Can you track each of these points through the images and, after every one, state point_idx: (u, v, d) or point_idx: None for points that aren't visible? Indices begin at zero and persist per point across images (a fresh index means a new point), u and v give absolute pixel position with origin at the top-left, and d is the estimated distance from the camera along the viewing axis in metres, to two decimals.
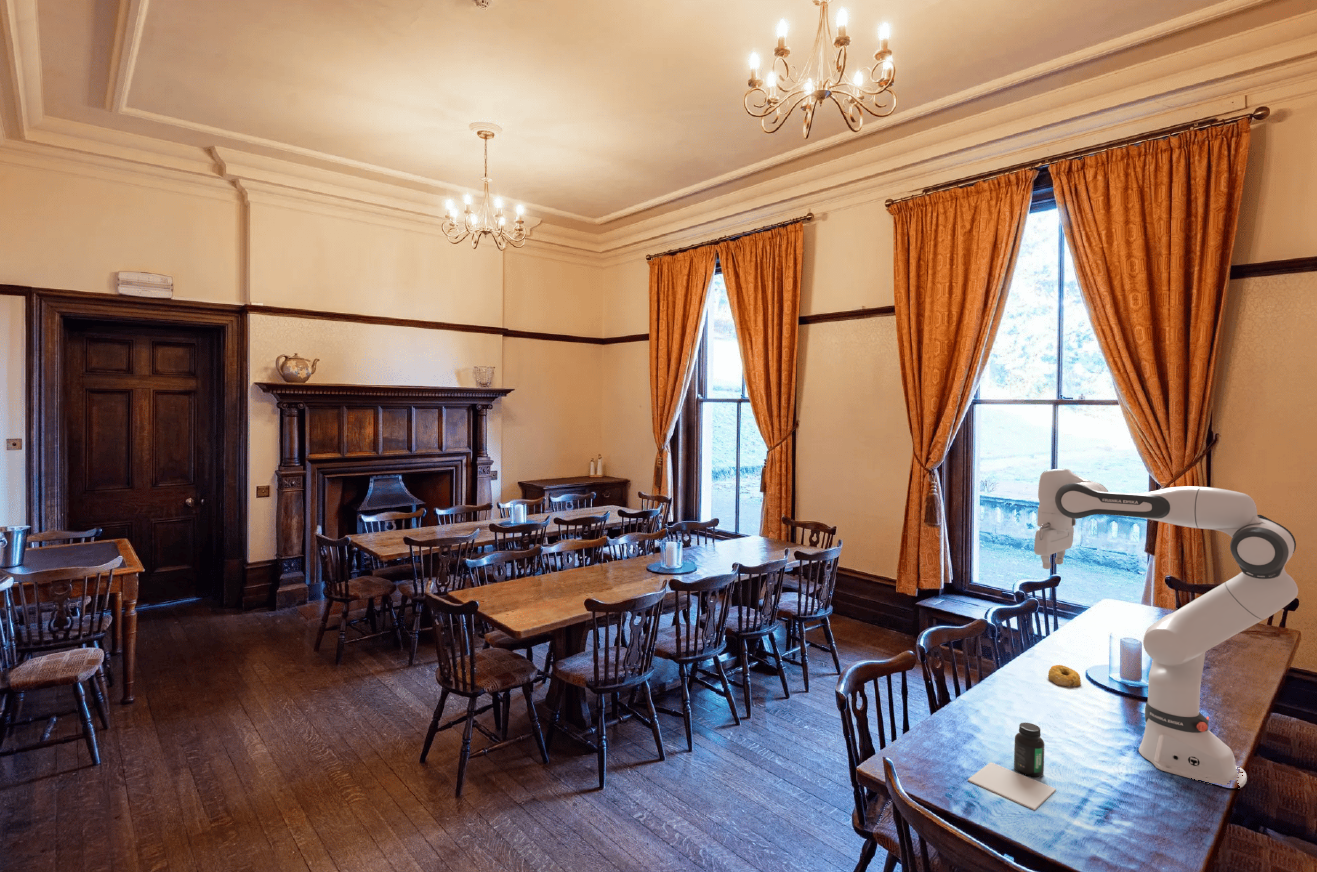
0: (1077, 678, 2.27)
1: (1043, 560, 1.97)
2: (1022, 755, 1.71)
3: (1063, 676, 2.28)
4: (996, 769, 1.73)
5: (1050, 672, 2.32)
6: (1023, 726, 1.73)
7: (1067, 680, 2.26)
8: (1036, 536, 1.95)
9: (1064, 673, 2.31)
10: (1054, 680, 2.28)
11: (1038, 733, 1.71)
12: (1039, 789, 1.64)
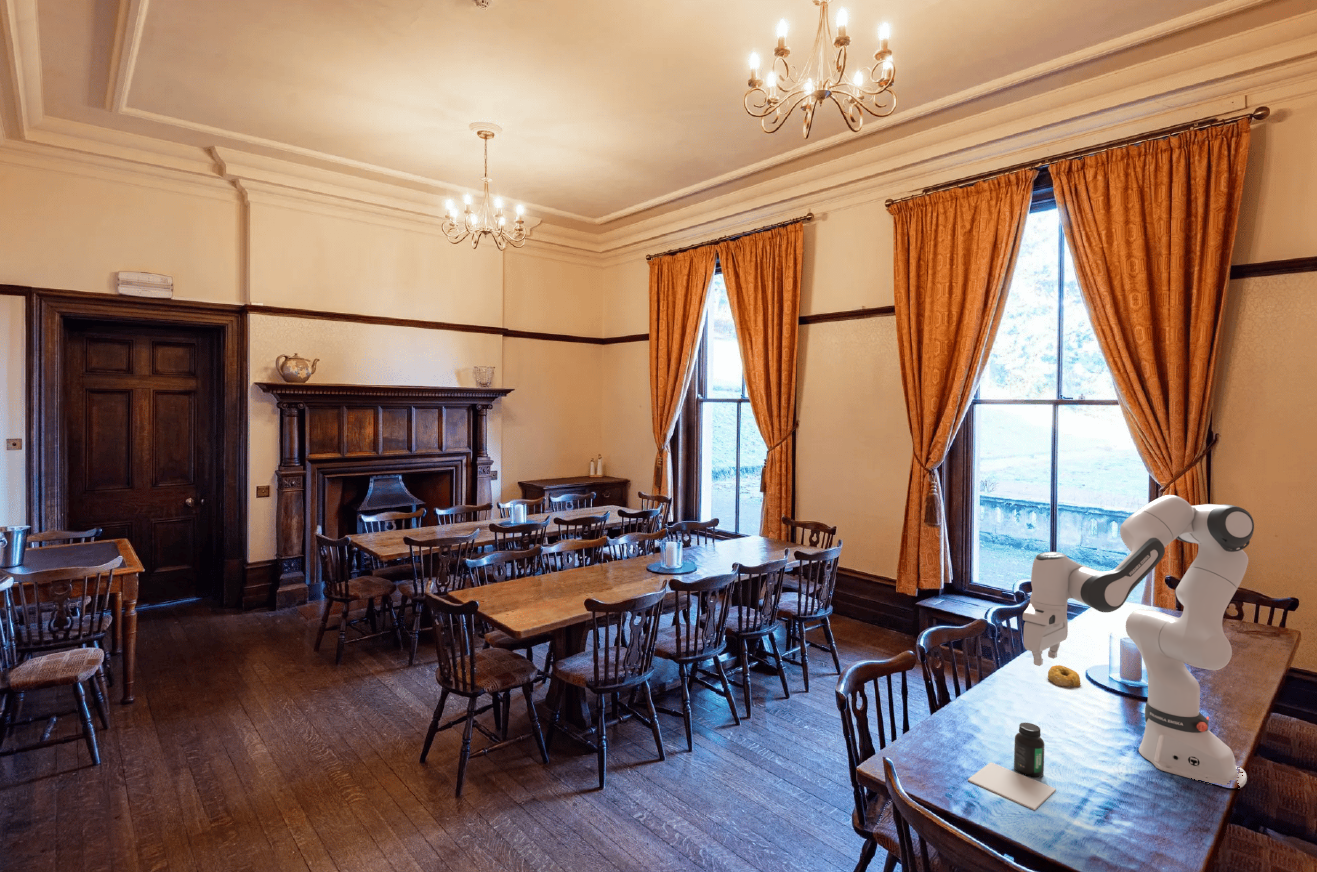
0: (1077, 678, 2.27)
1: None
2: (1022, 755, 1.71)
3: (1062, 676, 2.27)
4: (996, 769, 1.73)
5: (1050, 672, 2.31)
6: (1023, 726, 1.73)
7: (1067, 680, 2.25)
8: None
9: (1064, 673, 2.31)
10: (1054, 680, 2.28)
11: (1038, 733, 1.71)
12: (1039, 789, 1.64)
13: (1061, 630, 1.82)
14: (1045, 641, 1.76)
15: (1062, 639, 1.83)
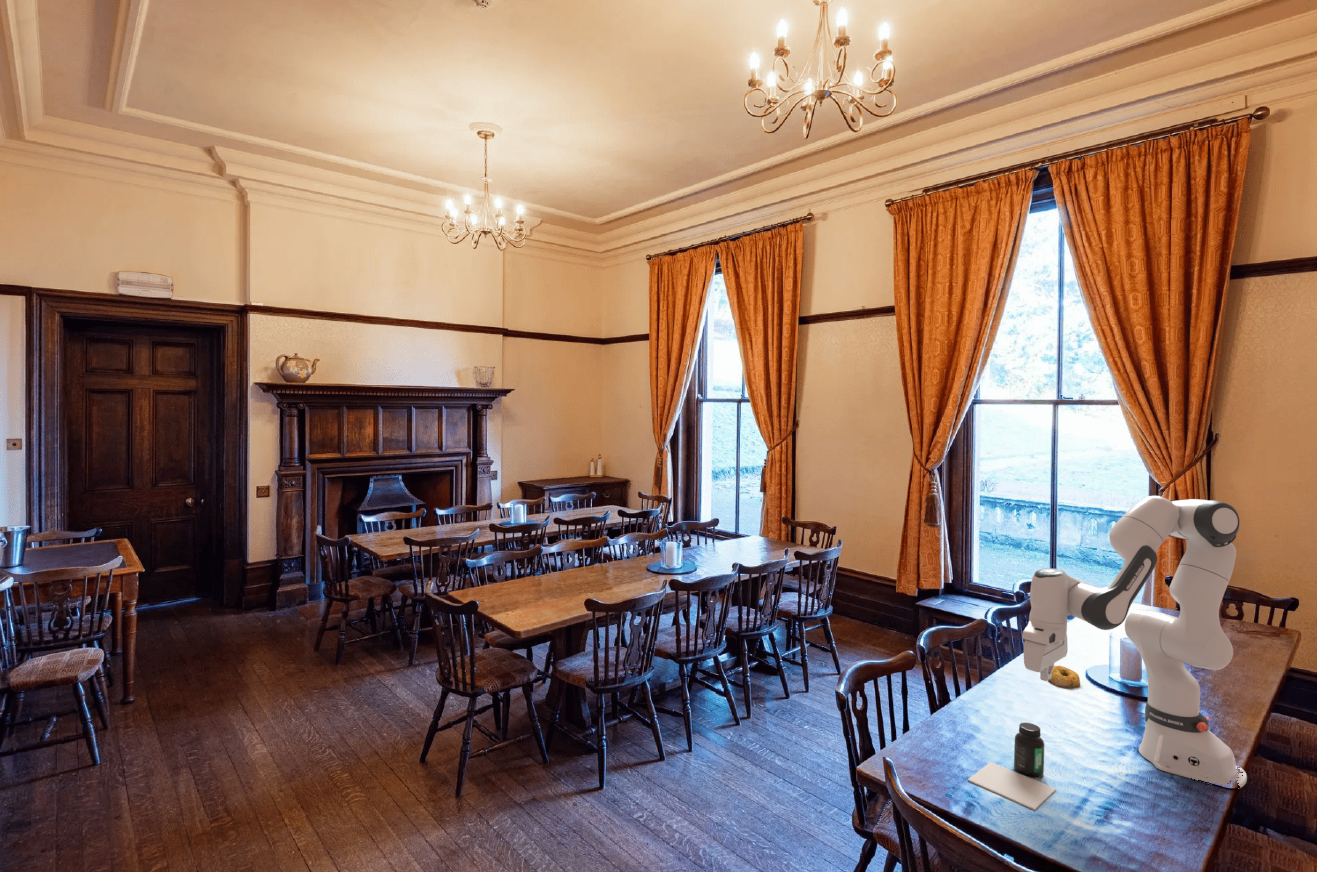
0: (1076, 679, 2.26)
1: None
2: (1022, 755, 1.71)
3: (1062, 676, 2.27)
4: (996, 769, 1.73)
5: None
6: (1023, 726, 1.73)
7: (1067, 681, 2.25)
8: None
9: (1063, 674, 2.31)
10: (1053, 681, 2.28)
11: (1038, 733, 1.71)
12: (1039, 789, 1.64)
13: (1061, 647, 1.80)
14: (1046, 660, 1.74)
15: (1062, 656, 1.81)
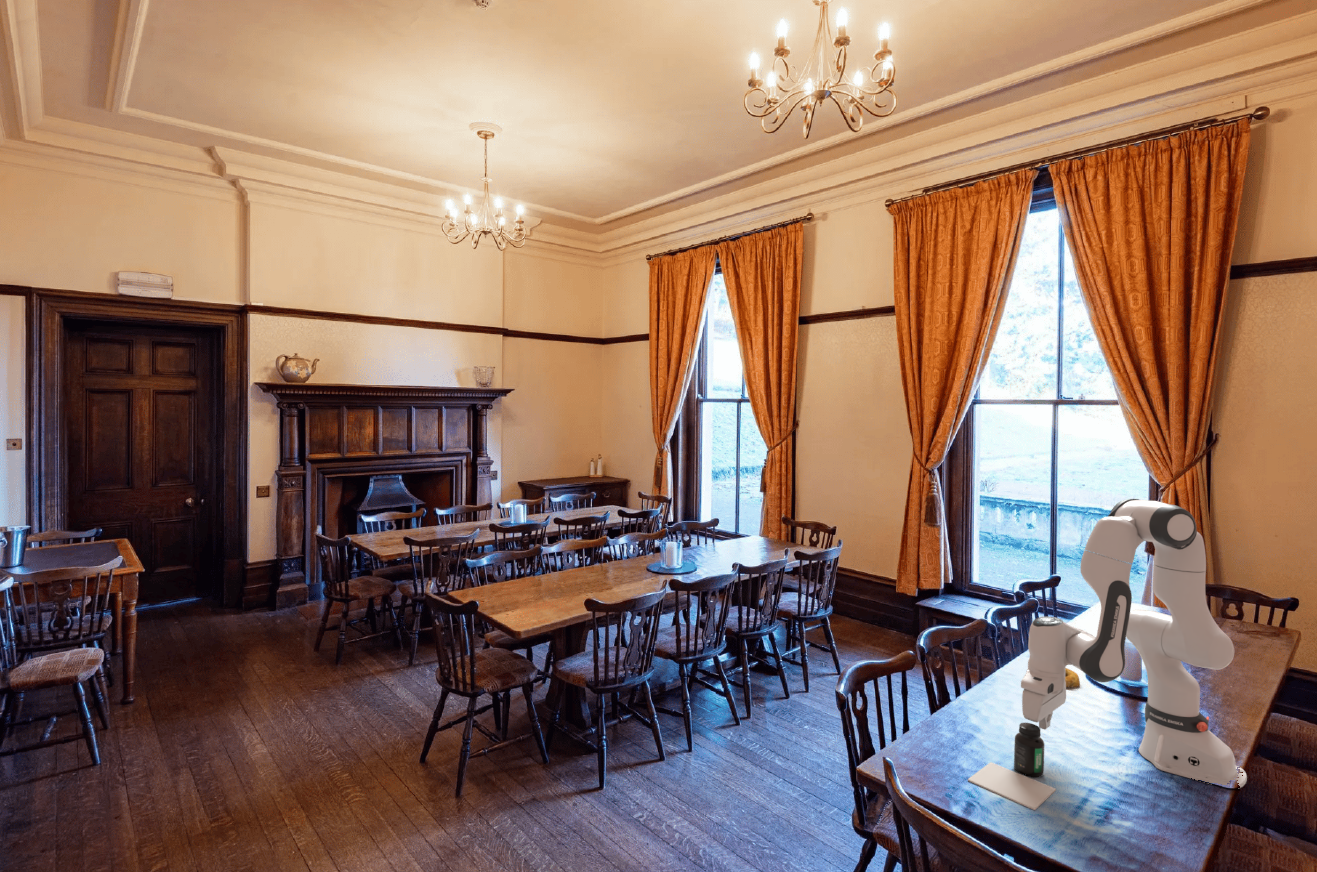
0: (1076, 679, 2.26)
1: None
2: (1022, 755, 1.71)
3: None
4: (996, 769, 1.73)
5: None
6: (1023, 726, 1.73)
7: (1067, 681, 2.25)
8: None
9: None
10: None
11: (1038, 733, 1.71)
12: (1039, 789, 1.64)
13: (1059, 695, 1.81)
14: (1044, 709, 1.74)
15: (1061, 703, 1.81)
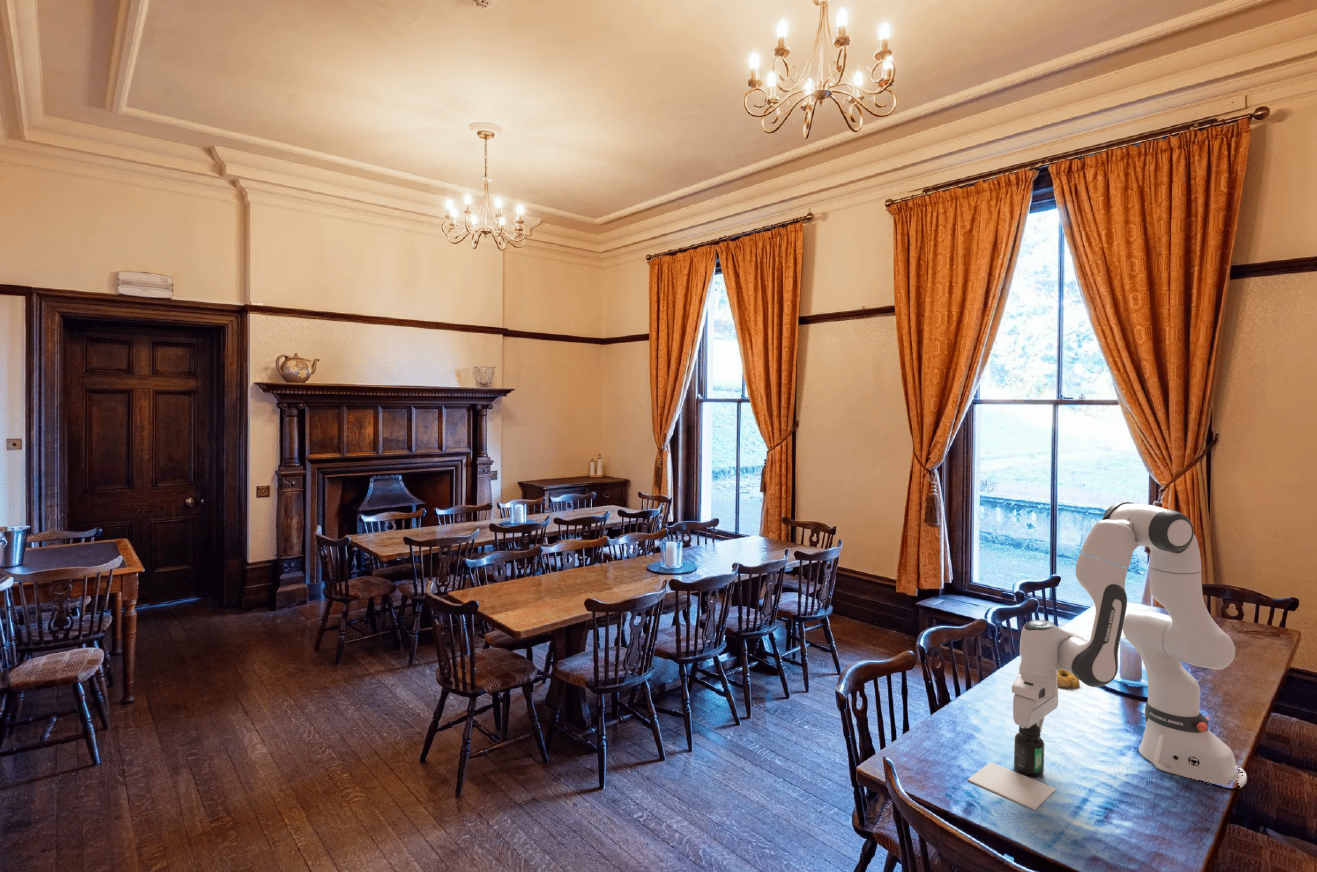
0: (1076, 679, 2.26)
1: None
2: (1022, 755, 1.71)
3: (1062, 677, 2.26)
4: (996, 769, 1.73)
5: None
6: None
7: (1066, 681, 2.24)
8: None
9: (1063, 674, 2.30)
10: None
11: (1038, 733, 1.71)
12: (1039, 789, 1.64)
13: (1051, 700, 1.77)
14: (1035, 715, 1.71)
15: (1053, 709, 1.78)
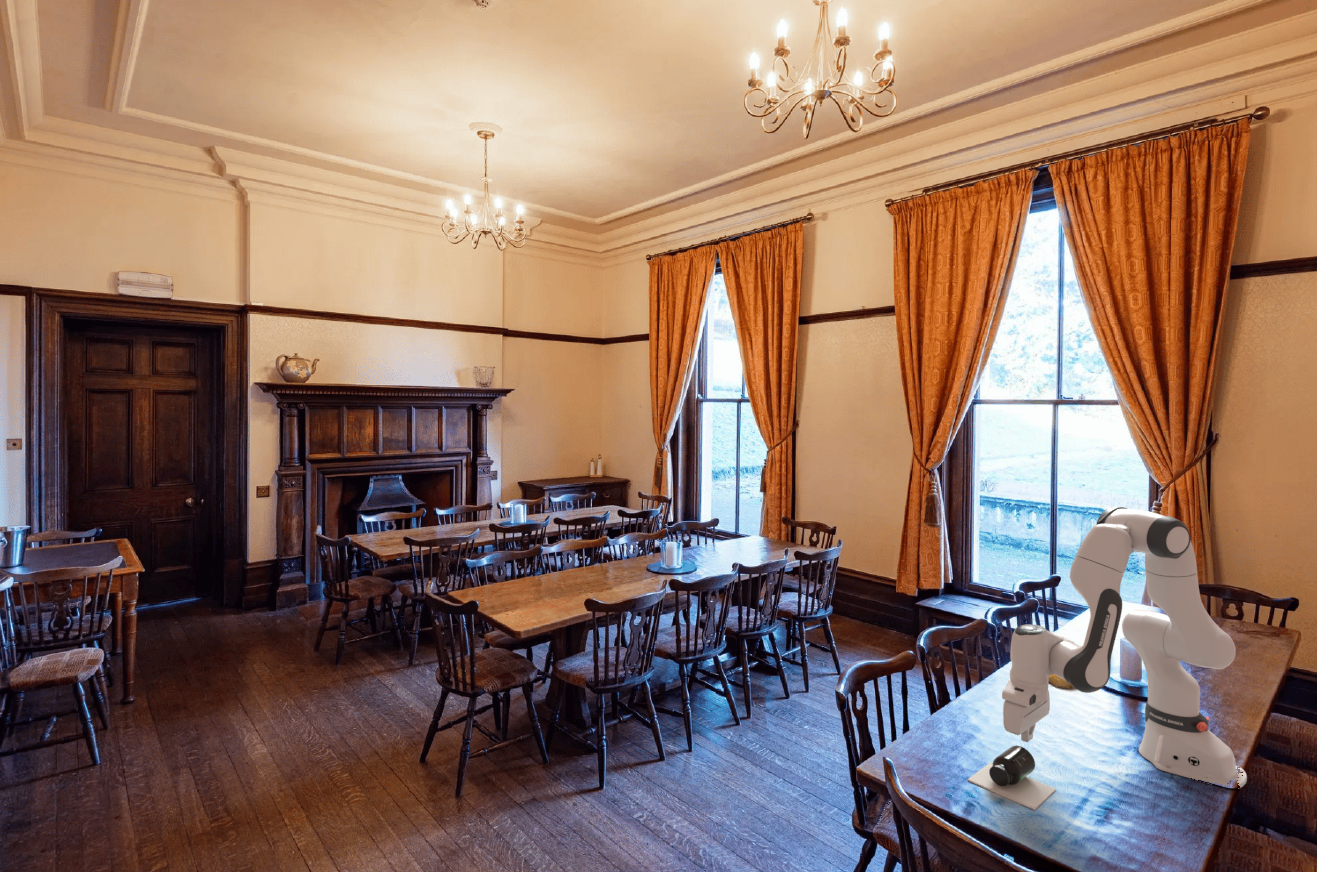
0: None
1: None
2: None
3: None
4: None
5: None
6: (994, 779, 1.65)
7: (1066, 682, 2.24)
8: None
9: None
10: (1053, 682, 2.27)
11: (1009, 780, 1.63)
12: (1039, 789, 1.64)
13: (1043, 706, 1.74)
14: (1026, 721, 1.67)
15: (1044, 715, 1.74)
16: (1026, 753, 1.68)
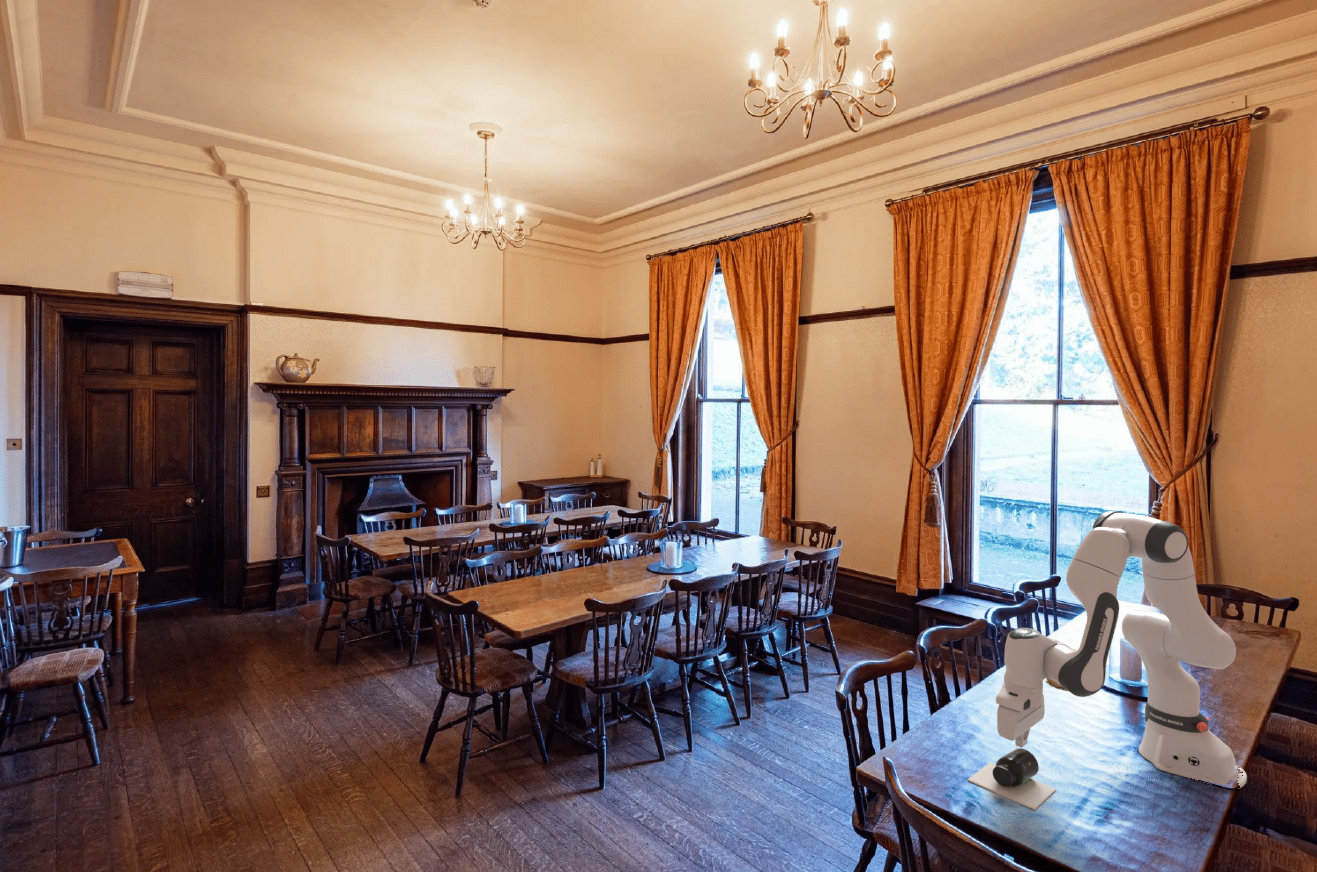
0: None
1: None
2: None
3: None
4: None
5: None
6: (996, 778, 1.65)
7: None
8: None
9: None
10: (1053, 682, 2.27)
11: (1012, 782, 1.62)
12: (1039, 789, 1.64)
13: (1037, 710, 1.71)
14: (1020, 726, 1.65)
15: (1039, 720, 1.72)
16: (1032, 759, 1.68)
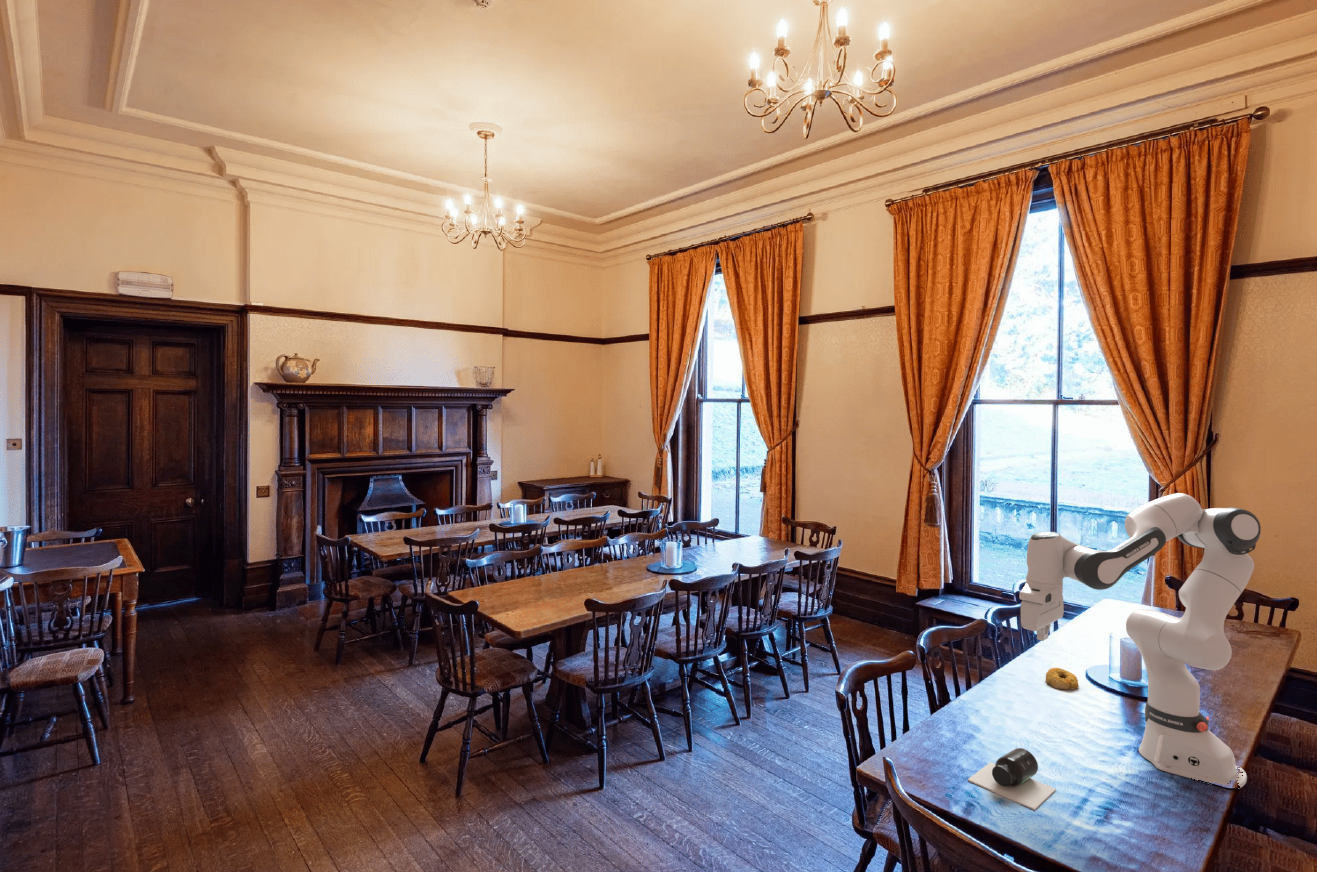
0: (1075, 681, 2.24)
1: None
2: None
3: (1061, 679, 2.25)
4: None
5: (1048, 675, 2.29)
6: (996, 778, 1.65)
7: (1065, 683, 2.23)
8: None
9: (1061, 676, 2.29)
10: (1052, 683, 2.26)
11: (1012, 781, 1.63)
12: (1039, 789, 1.64)
13: (1057, 608, 1.85)
14: (1042, 619, 1.79)
15: (1058, 617, 1.86)
16: (1031, 758, 1.68)
